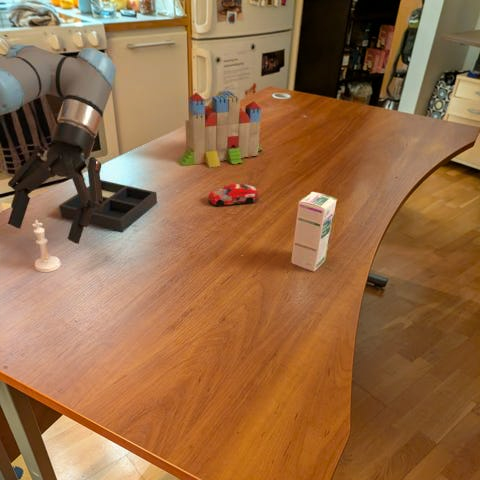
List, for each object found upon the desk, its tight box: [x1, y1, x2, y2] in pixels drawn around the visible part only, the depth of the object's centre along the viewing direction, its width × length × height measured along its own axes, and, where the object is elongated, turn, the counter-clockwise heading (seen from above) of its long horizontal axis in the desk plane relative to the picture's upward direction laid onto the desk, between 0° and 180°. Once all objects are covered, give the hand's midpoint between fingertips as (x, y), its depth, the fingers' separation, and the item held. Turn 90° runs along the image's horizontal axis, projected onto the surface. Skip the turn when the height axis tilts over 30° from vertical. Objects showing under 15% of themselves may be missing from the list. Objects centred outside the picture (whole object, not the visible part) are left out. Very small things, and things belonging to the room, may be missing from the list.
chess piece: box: [32, 219, 62, 273], centre depth 89 cm, size 5×5×10 cm
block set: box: [178, 90, 264, 168], centre depth 136 cm, size 28×14×19 cm, turn 115°
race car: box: [207, 183, 260, 208], centre depth 118 cm, size 13×5×4 cm, turn 106°
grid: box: [58, 179, 158, 233], centre depth 111 cm, size 16×16×3 cm
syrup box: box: [290, 191, 338, 273], centre depth 94 cm, size 6×6×14 cm
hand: (42, 233), depth 89 cm, fingers open, 13 cm apart
